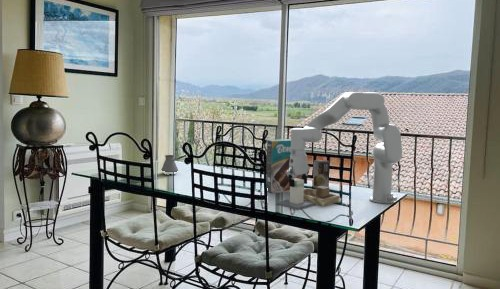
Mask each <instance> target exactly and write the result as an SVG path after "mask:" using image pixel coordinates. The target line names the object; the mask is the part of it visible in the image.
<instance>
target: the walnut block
mask: <svg viewBox="0 0 500 289" xmlns="http://www.w3.org/2000/svg"><path fill="white" fill-rule="evenodd" d="M315 190H316V197H317V198H321V199H325V198H329V193H330V187H329V186H328V187H325V186H318V187H316V188H315Z"/></svg>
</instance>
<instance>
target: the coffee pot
mask: <svg viewBox="0 0 500 289" xmlns="http://www.w3.org/2000/svg"><path fill="white" fill-rule="evenodd" d="M186 155H187V154H184V155H181V156H180V157H177V158H174V157H175V155H174V154H166V155H164V157H165V160H164V162H163V164H162V167H161V170H162V171H165V172H177V171H178V172H179V168H178V166H177V164H176V162H175V161H177V160H180V159H184V158H185V157H186V158H187V156H186ZM161 170H160V171H161ZM178 172H177V173H178Z"/></svg>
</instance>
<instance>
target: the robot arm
mask: <svg viewBox="0 0 500 289" xmlns="http://www.w3.org/2000/svg"><path fill="white" fill-rule="evenodd" d="M385 100H386V99H385V97H384V96H383V94H381V93H379V92H355V91H354V92H353V91H352V92H351V91H348V92H345V93H343V94H341V96H339V98H337V99H336V101H334V102H333V103H332V104H331V105H330V106H329V107H328V108H326V110H324V111H323V112H321V113H319V114H318V115H317V116H315V117H314V118H313V119H311V120H310V121H309V122H307V124H306V125H305V126H304V127H303V128H302V127H293V128H291V130H290V139H291V152H290V153H291V155H290V162H289V169H288V170H287V171H286V174H287V177H288V179H289V186H290V187H294V186H295V180H294V177H295V175H303V176H302V179H303V180H304V185H307V184H308V176H309V173H310V169H311V167H310V165H309V162H308V155H307V153H306V152H307V149H306V148H307V147H306V146H307V145H306V144H307V143H314V144H315V143H318V142H320V141H321V140H322V138H323V132H322V130H323V129H324V128H326V127H328V126H330V125H331V126H332V125H333V124H336V123H338V122H339V121H341V119H343V117H345V116H346V115H347V114H348V113H350V111H351V110H358V111H359V110H361V111H366V110H367V111H368V112H369V114H370V117H371V122H372V132H373V137H374V138H375V139H376V140H378V141H380V142H379V143H377V144H376V145H375V146H374V148H373V152H372V153H373V154H372V155H373V156H372V157H373V183H372V196H370V197H369V199H368V200H369V201H370V202H373V203H377V204H392V203H394V202H397V201H398V196H394V193H392V185H393V184H392V183H393V164H397V163H398V162H400V161H401V159H402V157H403V145H402V138H401V137H402V135H401V131H400V129H399V128H398V127H397V126H396V125H395V124H393V123H390V116H389V111H388V109H387V107H386V105H385ZM292 175H293V176H292Z"/></svg>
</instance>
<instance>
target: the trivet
mask: <svg viewBox="0 0 500 289" xmlns="http://www.w3.org/2000/svg"><path fill="white" fill-rule="evenodd" d="M276 203H277V205H279V206H283V207H286V208H290V209H294V210H296V211H298V210H303V209H306V208H309V207H314V206H316V203H314V202H310V201H307V200H303V203H299V204H295V203H291V202H290V198H288V199H287V198H286V199H283V200H279V201H277V202H276Z"/></svg>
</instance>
